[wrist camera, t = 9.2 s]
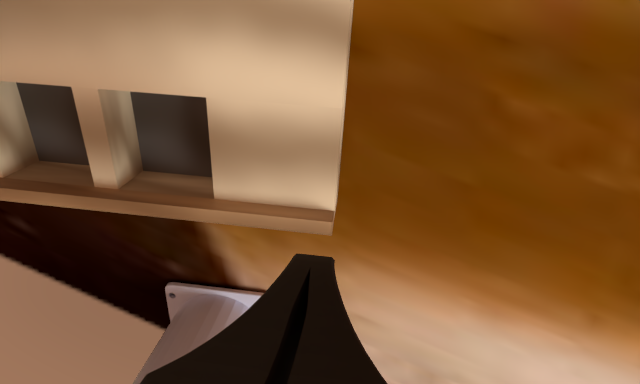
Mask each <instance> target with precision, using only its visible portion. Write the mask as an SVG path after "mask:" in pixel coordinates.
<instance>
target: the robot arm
mask: <svg viewBox="0 0 640 384" xmlns="http://www.w3.org/2000/svg"><path fill="white" fill-rule="evenodd" d="M334 261H335V260H334V259H333V258H332V257H325V256H315V255H306V254H296V255H295V256H294V257H293V258H292V260H291V261H290V263H289V264H288V265H287V267H286V268H285V269H284V271H283V272H282V273H281V274H280V276H279V277H278V278H277V279H276V280H275V282H274V283H273V284H272V285H271V286H270V287H269V289H268V290H267V291H266V292H265V293H261V292H252V291H244V290H235V289H227V288H219V287H210V286H202V285H194V284H185V283H177V282H169V283H168V284H167V285H166V287H165V292H166V299H167V305H168V311H169V317H170V324H169V326H168V328H167V329H166V331H165V332H164V334H163V336H162V337H161V339H160V340H159V342H158V344H157V345H156V347H155V348H154V350H153V352H152V353H151V355H150V356H149V358H148V360H147V361H146V363H145V365H144V366H143V368H142V369H141V371H140V373H139V374H138V376H137V377H136V379H135V381H134V382H133V384H387V382H386V381H385V380H384V378H383V377H382V376H381V374H380V373H379V371H378V370H377V368H376V367H375V365H374V364H373V362H372V361H371V359H370V357H369V356H368V354H367V353H366V351H365V349H364V348H363V346H362V344H361V342H360V340H359V338H358V336H357V334H356V332H355V331H354V328H353V326H352V324H351V322H350V320H349V317H348V315H347V312H346V310H345V307H344V304H343V301H342V298H341V295H340V292H339V289H338V285H337V281H336V276H335V269H334ZM172 293H173V294H172ZM174 294H175V295H174Z"/></svg>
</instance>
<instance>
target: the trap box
mask: <svg viewBox="0 0 640 384" xmlns="http://www.w3.org/2000/svg"><path fill="white" fill-rule="evenodd" d="M353 2H354V0H0V200H1V201H11V202H20V203H30V204H39V205H48V206H58V207H67V208H77V209H86V210H96V211H105V212H114V213H124V214H133V215H143V216H152V217H161V218H171V219H180V220H190V221H199V222H209V223H218V224H227V225H237V226H246V227H256V228H265V229H275V230H284V231H293V232H303V233H312V234H322V235H331V236H332V229H333V223H334V217H335V210H336V204H337V196H338V184H339V172H340V160H341V148H342V136H343V123H344V111H345V99H346V87H347V75H348V63H349V51H350V38H351V26H352V14H353Z"/></svg>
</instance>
